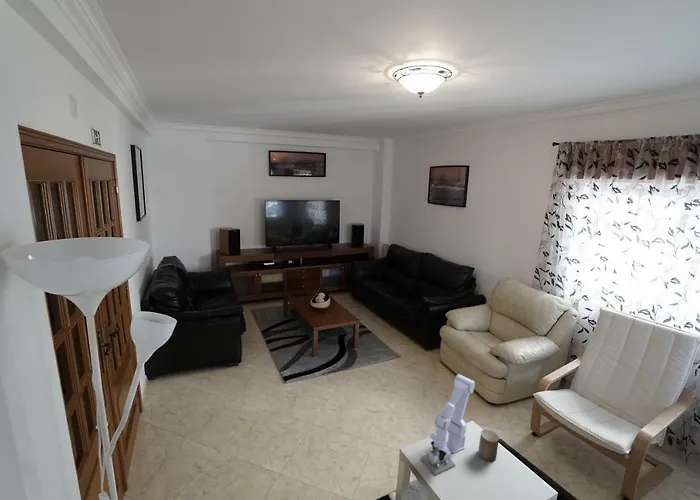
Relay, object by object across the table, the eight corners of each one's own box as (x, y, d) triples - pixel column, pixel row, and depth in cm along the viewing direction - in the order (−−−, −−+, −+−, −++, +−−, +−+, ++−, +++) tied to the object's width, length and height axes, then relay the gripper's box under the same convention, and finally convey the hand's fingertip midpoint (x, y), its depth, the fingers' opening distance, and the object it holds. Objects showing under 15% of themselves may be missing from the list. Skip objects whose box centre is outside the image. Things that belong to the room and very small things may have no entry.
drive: (442, 454, 197) (443, 445, 196) (447, 459, 194) (448, 450, 192) (428, 460, 193) (429, 451, 191) (433, 465, 189) (434, 456, 188)
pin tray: (440, 450, 202) (440, 446, 201) (455, 466, 192) (455, 461, 191) (421, 458, 196) (421, 454, 195) (435, 475, 186) (435, 470, 185)
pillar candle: (498, 462, 195) (502, 440, 191) (481, 461, 195) (484, 439, 192) (492, 448, 204) (495, 427, 201) (475, 448, 205) (478, 426, 201)
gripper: (426, 429, 194) (424, 449, 197) (444, 448, 182) (441, 469, 185) (436, 425, 197) (434, 445, 201) (454, 443, 185) (452, 465, 188)
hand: (438, 457), depth 193 cm, fingers closed on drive, 4 cm apart
